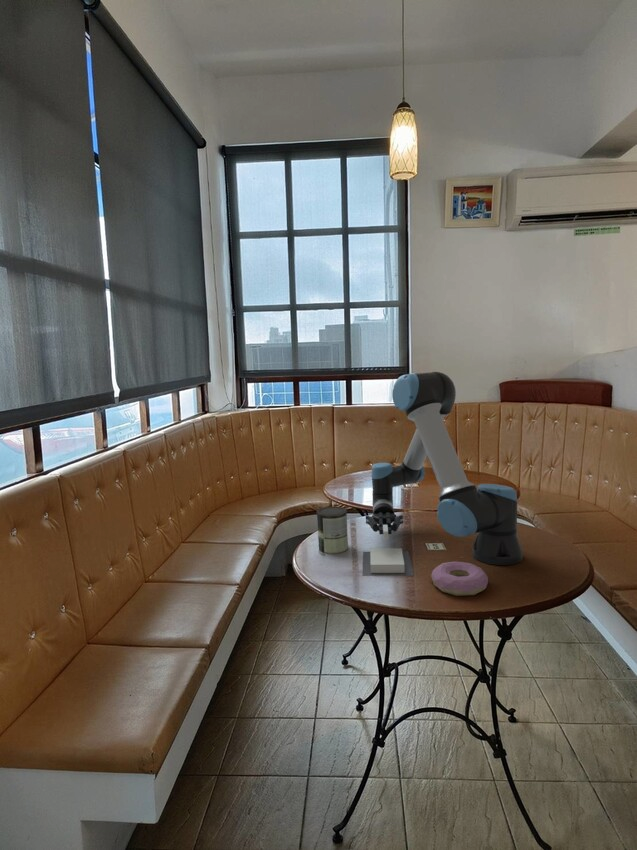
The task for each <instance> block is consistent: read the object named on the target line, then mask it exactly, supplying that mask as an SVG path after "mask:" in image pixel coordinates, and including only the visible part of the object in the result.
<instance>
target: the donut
mask: <svg viewBox="0 0 637 850" xmlns="http://www.w3.org/2000/svg"><path fill="white" fill-rule="evenodd" d="M430 576H431V579H432V582H433V583H432V584H433V585H434V586H435V587H437V588H438V589H439V590H440V591H441V592H442V593H446V594H448V595H449V594H450V595H452V596H456V597H459V596H460V597H463V596H475V595H477V594H478V593H480V592H483V591H484V590H485V589H486V588H487V586H488V583H489V577H488V575H487V573H485V571H484V570H483V568H482V567H479V566H477V565H475V564H473V563H471V562H463V561H449V562H443V563H441V564H440V565H437V566H436V567H434V569H432V572H431V575H430Z"/></svg>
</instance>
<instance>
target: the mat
mask: <svg viewBox="0 0 637 850" xmlns="http://www.w3.org/2000/svg"><path fill="white" fill-rule="evenodd" d="M402 554H403V560H404V570H405V573H371V563H370V551H362V574H361V575H362V576H363V577H365V576H367V577H369V576H372V577H375V576H377V577H378V576H380V577H381V576H382V577H383V576H384V577H385V576H386V577H387V576H389V577H390V576H392V577H393V576H394V577H395V576H397V577H398V576H409V577H413V576H414V575H415V574H414V572H413V567H412V561H411V557H410V552H409V551H408V550H404V551H403V550H402Z"/></svg>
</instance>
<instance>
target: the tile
mask: <svg viewBox="0 0 637 850" xmlns="http://www.w3.org/2000/svg"><path fill="white" fill-rule="evenodd" d="M402 551H403V548H400V547H398V548H395V547H393V548H391V547H388V548H386V547H385V548H383V547H382V548H380V547H379V548H370V551H369V552H370V563H371V573H405V570H404V560H403V554H402Z"/></svg>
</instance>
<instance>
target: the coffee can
mask: <svg viewBox="0 0 637 850" xmlns="http://www.w3.org/2000/svg"><path fill="white" fill-rule="evenodd" d="M347 513H348V510H347V509H346V507H342V506H326V507H325V506H324V507H321V508H319V509H317V510H316V518H317V520H316V521H317V538H318V541H317V542H318V552H319V554H320V555H323V554H324V555H323V556H326V554H328V555H332V554H333V555H334V554H336V555H337V554H341V553H344V552H346V551H348V550H349V537H348V516H347V515H348V514H347Z"/></svg>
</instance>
